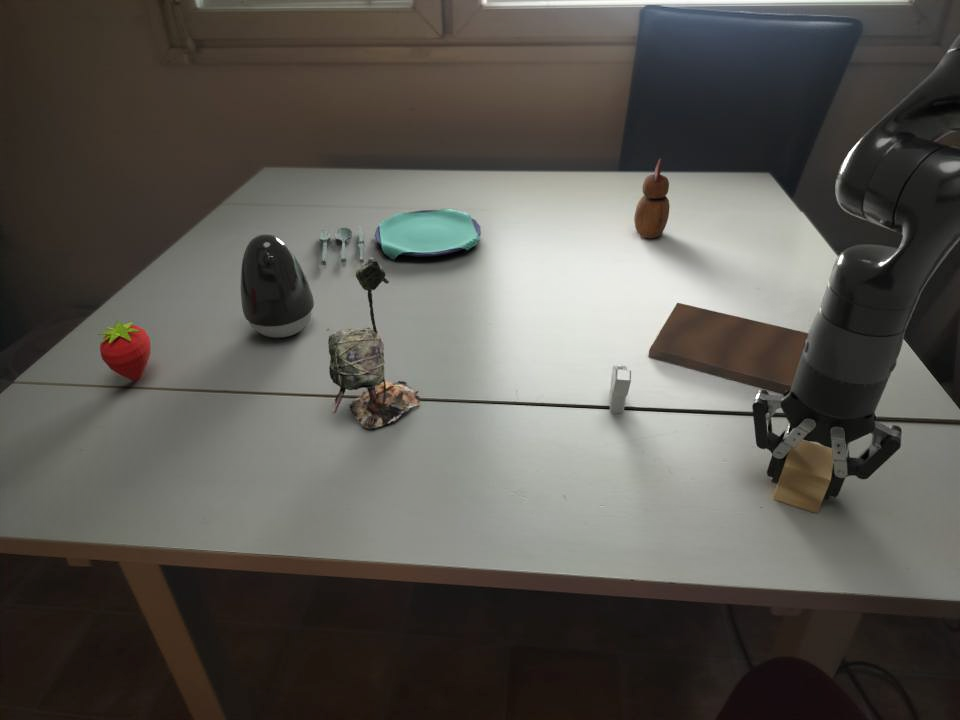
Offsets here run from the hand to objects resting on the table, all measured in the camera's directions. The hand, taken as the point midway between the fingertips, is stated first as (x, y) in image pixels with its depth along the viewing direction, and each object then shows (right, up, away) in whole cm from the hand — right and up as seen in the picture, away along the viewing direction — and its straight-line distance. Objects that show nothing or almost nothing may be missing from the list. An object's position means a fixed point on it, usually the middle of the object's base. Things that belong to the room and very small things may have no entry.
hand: (799, 485), depth 72 cm
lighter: (-17, +7, +12) cm, 22 cm away
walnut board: (+1, +15, +22) cm, 27 cm away
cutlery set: (-49, +35, +53) cm, 81 cm away
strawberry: (-81, +11, +20) cm, 84 cm away
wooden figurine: (-3, +37, +54) cm, 66 cm away
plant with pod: (-48, +7, +13) cm, 50 cm away
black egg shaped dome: (-64, +18, +29) cm, 73 cm away
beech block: (0, -1, 0) cm, 1 cm away
